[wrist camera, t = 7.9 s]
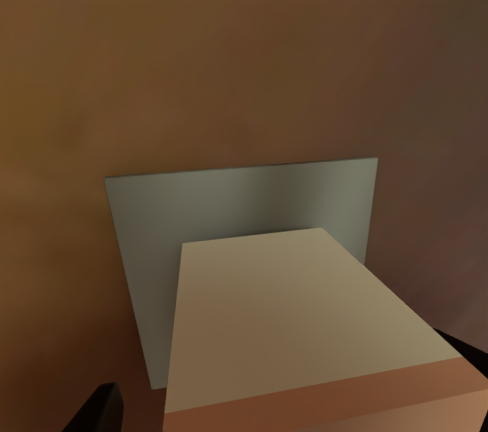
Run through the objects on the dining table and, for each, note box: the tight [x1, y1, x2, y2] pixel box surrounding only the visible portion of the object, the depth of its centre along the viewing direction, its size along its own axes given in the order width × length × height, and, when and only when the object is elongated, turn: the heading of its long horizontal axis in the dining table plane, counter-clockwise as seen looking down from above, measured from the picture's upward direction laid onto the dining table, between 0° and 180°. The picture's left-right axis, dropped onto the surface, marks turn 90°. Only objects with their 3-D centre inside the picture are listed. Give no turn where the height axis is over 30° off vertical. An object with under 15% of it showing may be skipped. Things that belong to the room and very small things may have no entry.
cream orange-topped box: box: [162, 227, 488, 432], centre depth 8 cm, size 5×5×7 cm
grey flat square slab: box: [104, 157, 378, 390], centre depth 9 cm, size 10×10×7 cm
